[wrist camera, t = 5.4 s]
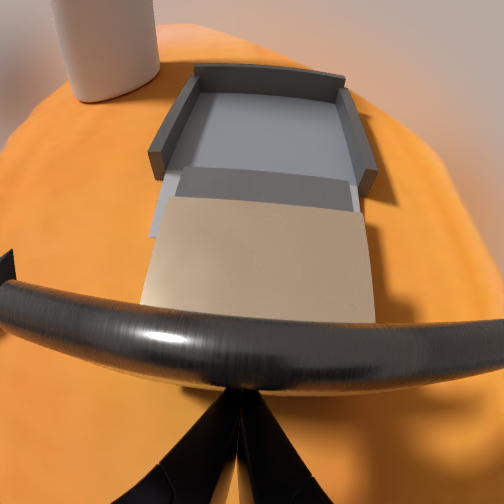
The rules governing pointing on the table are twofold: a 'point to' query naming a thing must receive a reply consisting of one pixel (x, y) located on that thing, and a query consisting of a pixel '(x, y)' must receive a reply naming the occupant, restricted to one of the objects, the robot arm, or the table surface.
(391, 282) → the table surface
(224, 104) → the dock
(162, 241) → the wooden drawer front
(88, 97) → the cylinder vase
